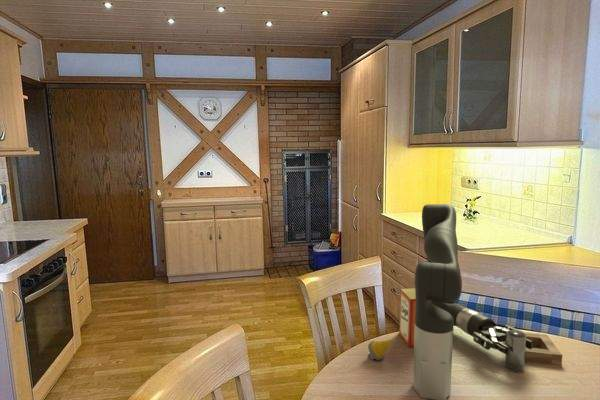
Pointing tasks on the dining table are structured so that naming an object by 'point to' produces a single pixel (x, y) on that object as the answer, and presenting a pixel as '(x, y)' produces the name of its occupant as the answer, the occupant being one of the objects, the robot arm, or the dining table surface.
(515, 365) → the metal tea canister
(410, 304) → the baking soda box
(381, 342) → the yellow cone tip
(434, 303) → the robot arm
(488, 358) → the dining table surface
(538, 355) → the frame
